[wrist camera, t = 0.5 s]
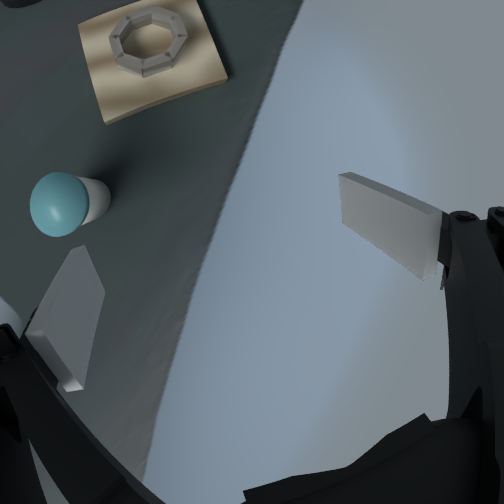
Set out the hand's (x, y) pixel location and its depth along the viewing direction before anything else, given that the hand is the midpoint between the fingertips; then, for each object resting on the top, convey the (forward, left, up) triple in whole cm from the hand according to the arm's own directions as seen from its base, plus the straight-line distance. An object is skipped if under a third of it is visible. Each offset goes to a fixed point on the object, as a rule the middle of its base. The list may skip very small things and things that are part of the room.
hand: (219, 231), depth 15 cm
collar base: (-22, +2, -25) cm, 33 cm away
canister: (-6, -11, -25) cm, 28 cm away
